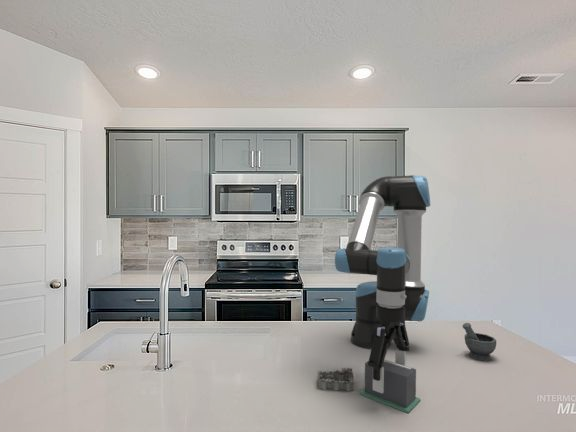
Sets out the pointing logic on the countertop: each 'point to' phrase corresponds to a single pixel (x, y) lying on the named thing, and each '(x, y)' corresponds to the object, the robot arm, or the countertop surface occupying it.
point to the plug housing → (394, 383)
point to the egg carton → (340, 376)
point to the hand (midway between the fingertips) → (389, 381)
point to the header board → (391, 402)
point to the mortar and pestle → (479, 343)
